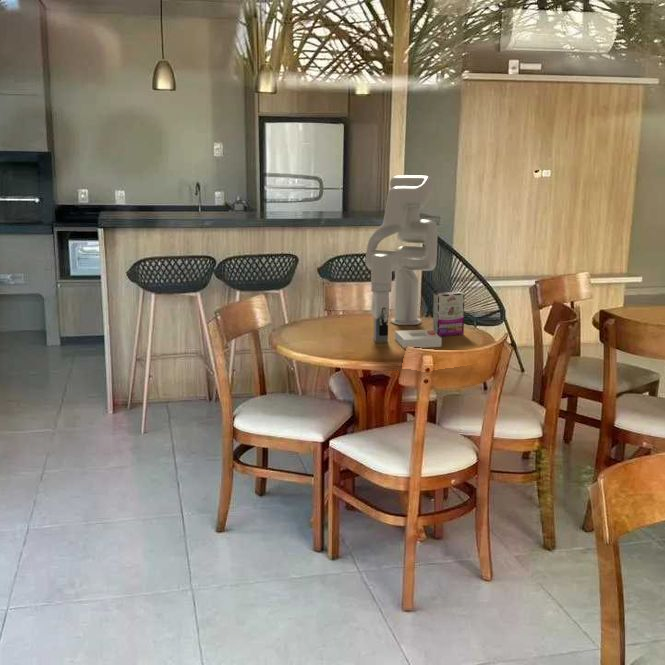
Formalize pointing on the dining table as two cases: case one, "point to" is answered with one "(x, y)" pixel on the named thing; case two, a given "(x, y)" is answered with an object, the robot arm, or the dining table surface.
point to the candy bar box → (448, 313)
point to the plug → (376, 332)
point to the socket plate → (418, 338)
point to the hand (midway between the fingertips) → (380, 332)
